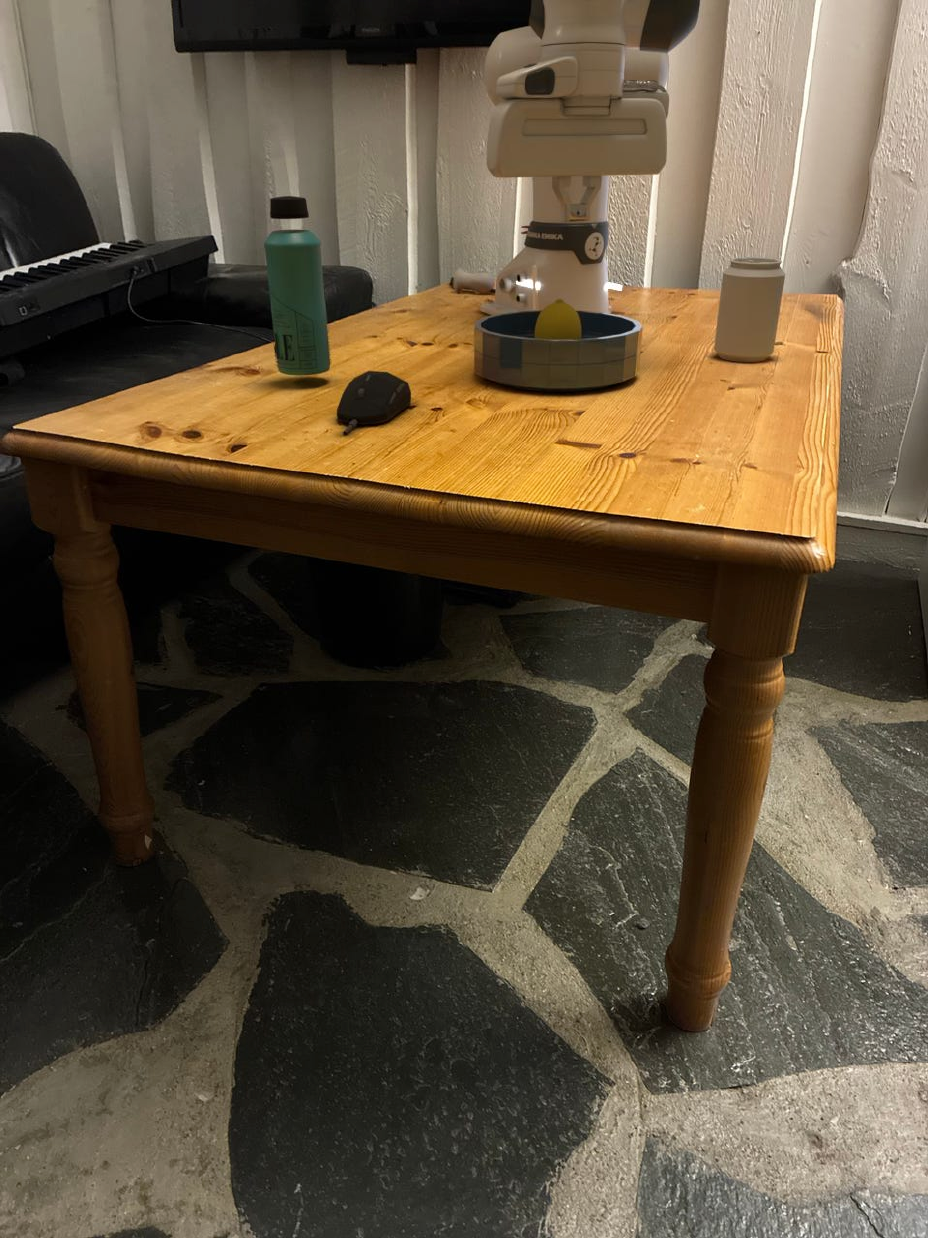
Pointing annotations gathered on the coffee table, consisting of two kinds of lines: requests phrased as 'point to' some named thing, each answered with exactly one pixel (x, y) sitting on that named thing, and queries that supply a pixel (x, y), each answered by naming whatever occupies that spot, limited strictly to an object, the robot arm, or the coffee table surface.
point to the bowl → (557, 352)
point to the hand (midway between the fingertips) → (574, 221)
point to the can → (749, 309)
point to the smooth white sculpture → (473, 281)
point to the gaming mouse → (373, 399)
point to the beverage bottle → (296, 293)
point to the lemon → (558, 322)
